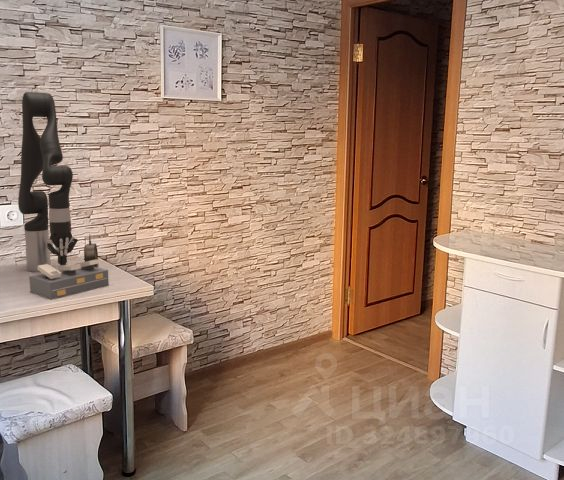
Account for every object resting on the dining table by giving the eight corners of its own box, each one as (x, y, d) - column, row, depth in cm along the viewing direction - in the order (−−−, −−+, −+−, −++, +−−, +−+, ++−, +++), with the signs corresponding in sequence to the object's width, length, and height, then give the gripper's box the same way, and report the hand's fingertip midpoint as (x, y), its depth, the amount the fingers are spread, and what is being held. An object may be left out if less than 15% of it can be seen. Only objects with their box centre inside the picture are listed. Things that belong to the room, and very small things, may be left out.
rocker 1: (37, 269, 213) (37, 265, 213) (47, 267, 216) (47, 263, 216) (50, 279, 208) (51, 274, 208) (61, 276, 211) (61, 272, 211)
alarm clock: (97, 274, 240) (95, 236, 237) (83, 275, 239) (81, 236, 236) (99, 268, 251) (97, 231, 248) (86, 269, 250) (84, 231, 246)
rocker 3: (77, 267, 226) (76, 263, 226) (86, 265, 229) (85, 261, 229) (90, 265, 220) (89, 260, 220) (99, 263, 223) (98, 258, 223)
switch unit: (30, 292, 215) (29, 273, 213) (87, 279, 233) (86, 261, 232) (51, 299, 206) (50, 280, 205) (109, 285, 225) (108, 267, 223)
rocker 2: (58, 270, 220) (57, 265, 219) (67, 268, 223) (67, 263, 222) (71, 270, 214) (70, 265, 214) (80, 268, 217) (80, 263, 217)
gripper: (70, 216, 225) (72, 260, 228) (38, 220, 214) (41, 266, 218) (81, 218, 220) (83, 263, 224) (49, 223, 210) (52, 269, 213)
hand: (62, 264), depth 221 cm, fingers closed
